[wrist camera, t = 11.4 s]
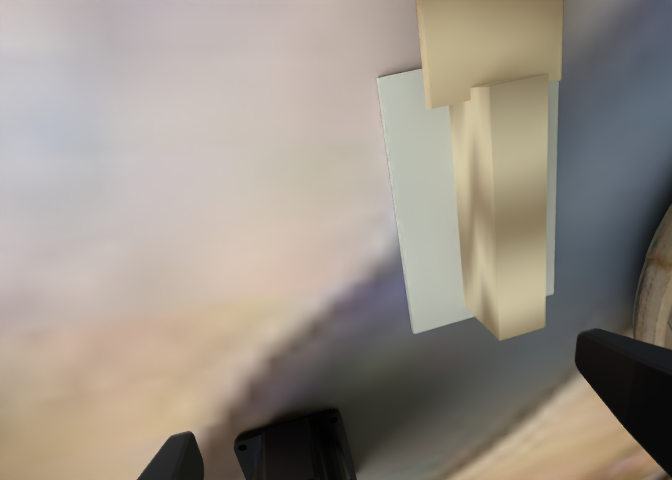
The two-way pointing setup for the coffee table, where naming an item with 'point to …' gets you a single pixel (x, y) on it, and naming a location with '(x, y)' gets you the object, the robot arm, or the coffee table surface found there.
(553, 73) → the spatula
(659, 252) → the ceramic bowl
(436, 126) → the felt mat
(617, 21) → the coffee table surface
